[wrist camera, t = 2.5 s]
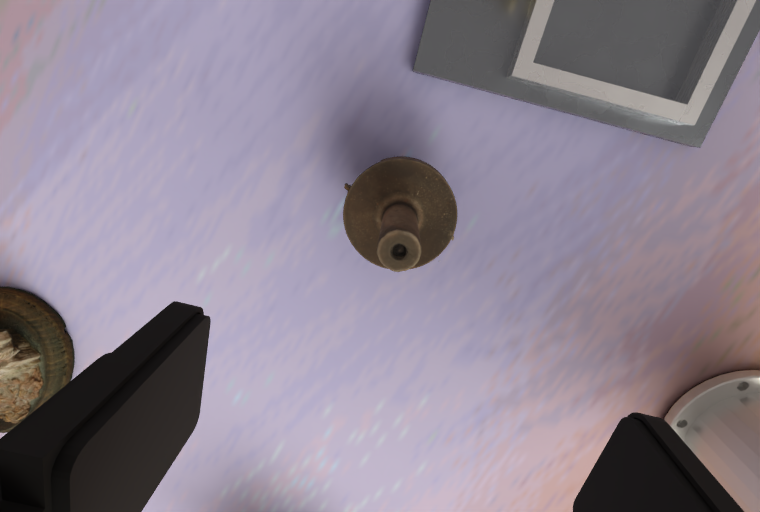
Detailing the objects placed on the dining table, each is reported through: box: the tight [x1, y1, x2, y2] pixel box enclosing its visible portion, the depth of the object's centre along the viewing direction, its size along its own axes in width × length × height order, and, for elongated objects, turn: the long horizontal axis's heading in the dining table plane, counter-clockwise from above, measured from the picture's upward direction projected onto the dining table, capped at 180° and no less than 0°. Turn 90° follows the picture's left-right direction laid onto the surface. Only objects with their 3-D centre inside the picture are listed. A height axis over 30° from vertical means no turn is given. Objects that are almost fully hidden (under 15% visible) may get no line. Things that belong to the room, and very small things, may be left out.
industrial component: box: [343, 157, 457, 272], centre depth 25 cm, size 9×7×12 cm
